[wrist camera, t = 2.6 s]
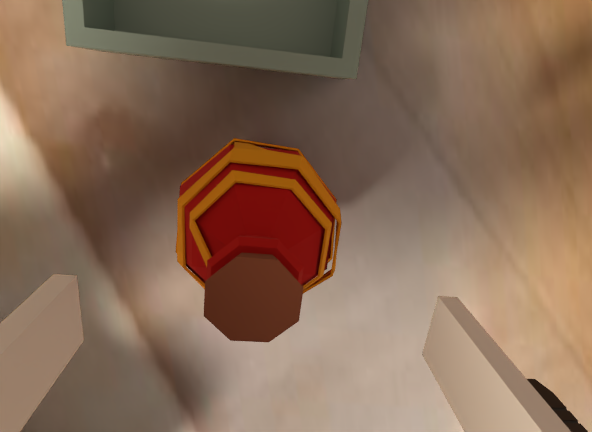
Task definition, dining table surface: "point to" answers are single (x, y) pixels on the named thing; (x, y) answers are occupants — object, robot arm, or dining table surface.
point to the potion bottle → (256, 236)
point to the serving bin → (226, 32)
